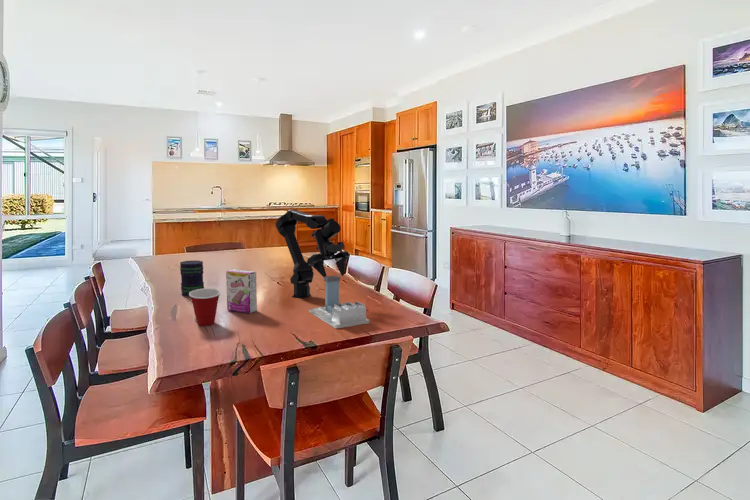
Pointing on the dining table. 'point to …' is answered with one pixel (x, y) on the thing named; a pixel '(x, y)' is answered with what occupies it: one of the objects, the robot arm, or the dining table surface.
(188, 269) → the storage jar
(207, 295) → the plastic cup
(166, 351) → the dining table surface
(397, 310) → the dining table surface
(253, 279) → the candy bar box
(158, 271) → the dining table surface
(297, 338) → the dining table surface
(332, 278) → the light blue bar
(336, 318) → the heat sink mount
